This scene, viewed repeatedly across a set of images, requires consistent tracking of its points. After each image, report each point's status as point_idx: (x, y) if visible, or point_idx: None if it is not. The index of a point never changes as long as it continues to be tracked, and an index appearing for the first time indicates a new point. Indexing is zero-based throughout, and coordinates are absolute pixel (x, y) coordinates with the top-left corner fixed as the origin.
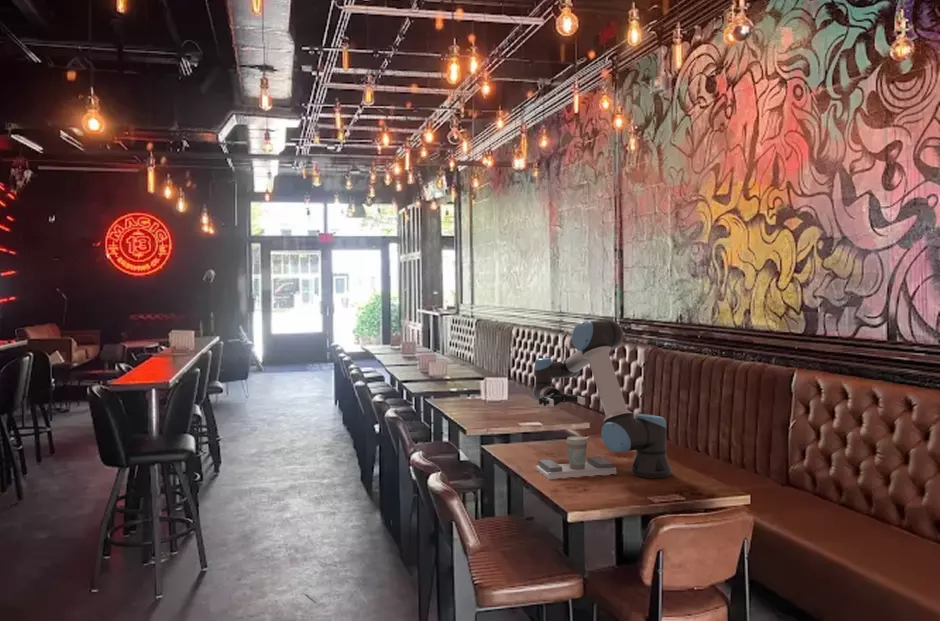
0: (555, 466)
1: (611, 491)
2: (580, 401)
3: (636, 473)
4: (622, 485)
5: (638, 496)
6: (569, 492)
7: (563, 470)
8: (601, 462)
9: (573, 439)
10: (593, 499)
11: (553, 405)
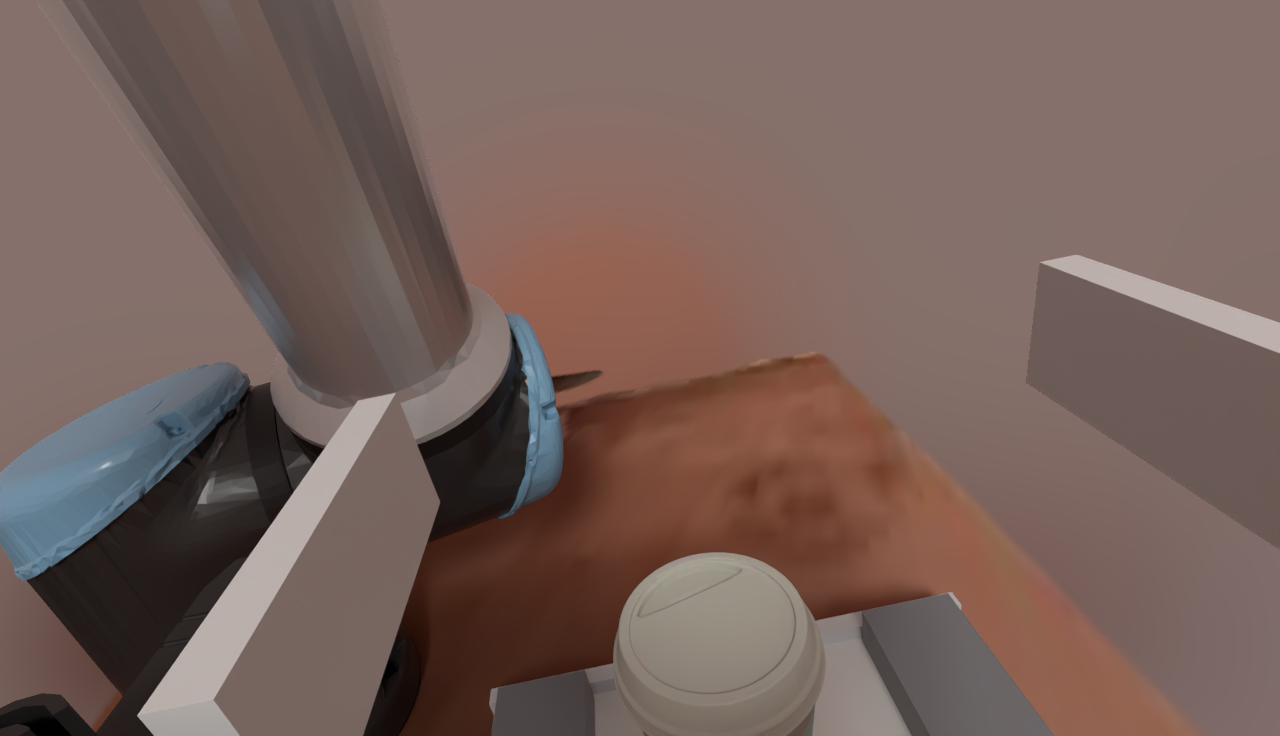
0: (914, 628)
1: (653, 475)
2: (378, 581)
3: (415, 658)
4: (577, 535)
5: (585, 443)
6: (820, 459)
7: (858, 720)
8: (555, 723)
9: (750, 585)
10: (739, 415)
11: (1034, 363)
